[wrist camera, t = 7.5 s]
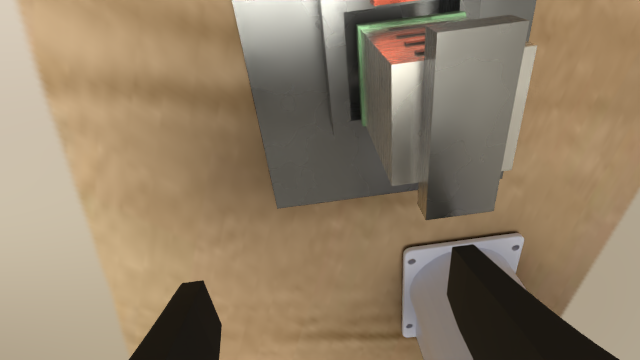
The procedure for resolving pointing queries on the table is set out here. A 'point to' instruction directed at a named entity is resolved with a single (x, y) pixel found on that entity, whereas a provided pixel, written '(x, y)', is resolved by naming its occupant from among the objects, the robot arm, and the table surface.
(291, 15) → the stand
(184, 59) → the table surface
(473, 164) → the grey block
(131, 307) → the table surface
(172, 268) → the table surface
